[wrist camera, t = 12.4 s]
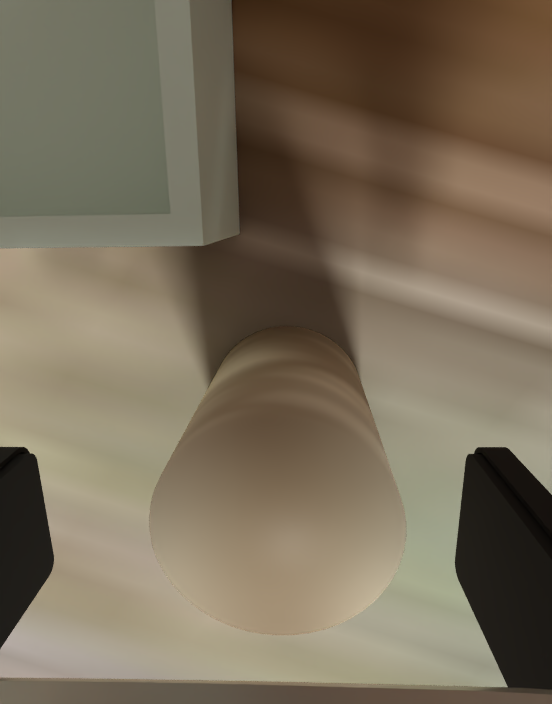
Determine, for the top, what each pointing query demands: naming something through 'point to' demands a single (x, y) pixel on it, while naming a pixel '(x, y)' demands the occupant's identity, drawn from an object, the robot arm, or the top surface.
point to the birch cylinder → (280, 492)
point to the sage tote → (117, 123)
